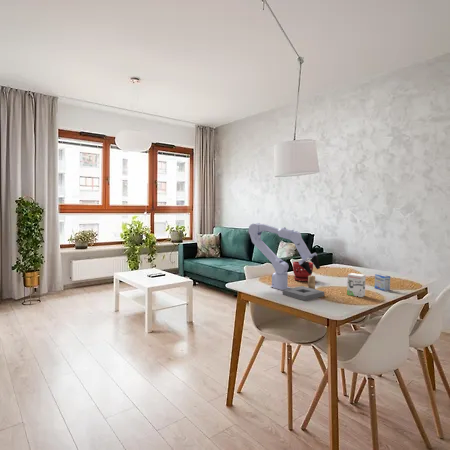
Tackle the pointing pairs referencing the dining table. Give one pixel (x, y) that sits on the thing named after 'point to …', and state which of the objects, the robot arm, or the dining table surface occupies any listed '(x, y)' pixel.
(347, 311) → the dining table surface
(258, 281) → the dining table surface
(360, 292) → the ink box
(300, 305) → the dining table surface
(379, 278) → the medicine box
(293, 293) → the docking block
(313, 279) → the peg
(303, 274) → the plant pot
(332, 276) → the dining table surface
